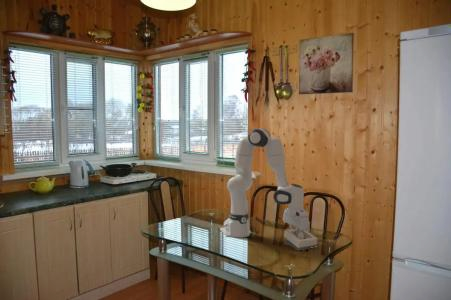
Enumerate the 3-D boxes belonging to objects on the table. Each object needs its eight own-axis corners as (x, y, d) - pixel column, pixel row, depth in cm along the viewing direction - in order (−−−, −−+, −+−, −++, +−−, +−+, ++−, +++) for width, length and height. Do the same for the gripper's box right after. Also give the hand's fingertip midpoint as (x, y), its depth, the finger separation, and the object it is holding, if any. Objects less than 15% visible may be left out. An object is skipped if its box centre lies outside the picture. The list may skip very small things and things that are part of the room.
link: (283, 236, 210) (284, 230, 209) (301, 233, 216) (302, 228, 215) (298, 247, 198) (299, 241, 197) (316, 244, 204) (317, 238, 203)
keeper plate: (284, 243, 209) (284, 230, 209) (301, 240, 216) (302, 228, 215) (299, 251, 197) (299, 237, 196) (317, 247, 204) (318, 234, 203)
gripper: (281, 207, 218) (280, 228, 219) (302, 215, 200) (301, 238, 201) (288, 206, 221) (287, 227, 222) (310, 214, 203) (309, 237, 204)
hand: (294, 232), depth 211 cm, fingers open, 3 cm apart
